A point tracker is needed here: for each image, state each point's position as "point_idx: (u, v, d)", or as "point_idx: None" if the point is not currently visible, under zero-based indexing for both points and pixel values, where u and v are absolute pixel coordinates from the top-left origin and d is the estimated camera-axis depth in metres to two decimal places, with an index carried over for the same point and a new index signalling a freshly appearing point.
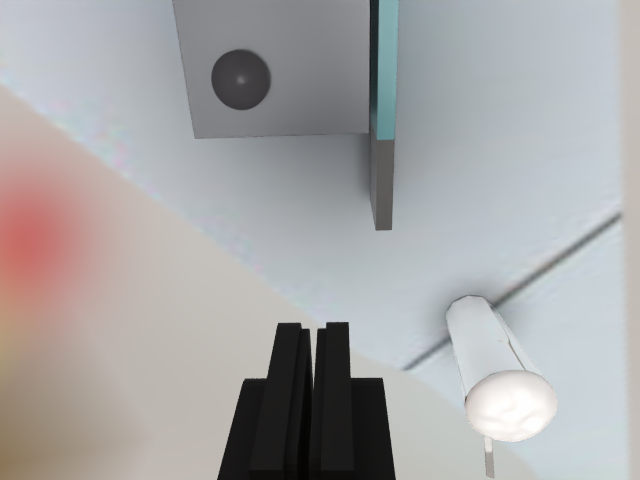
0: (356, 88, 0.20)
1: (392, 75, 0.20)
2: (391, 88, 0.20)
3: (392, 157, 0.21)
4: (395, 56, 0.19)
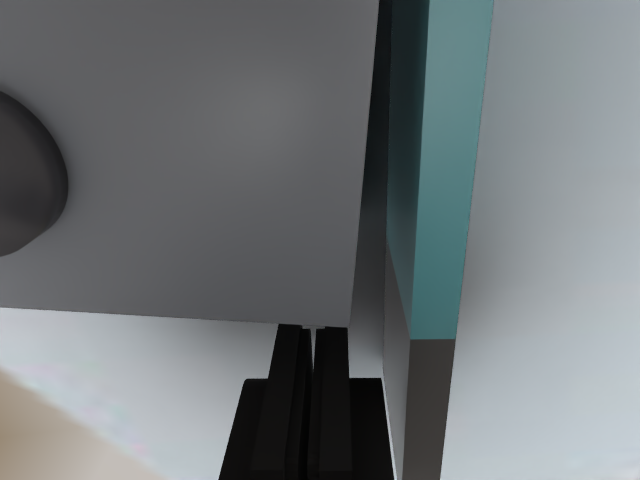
0: (322, 219, 0.07)
1: (460, 190, 0.07)
2: (455, 222, 0.07)
3: (447, 376, 0.08)
4: (473, 139, 0.06)
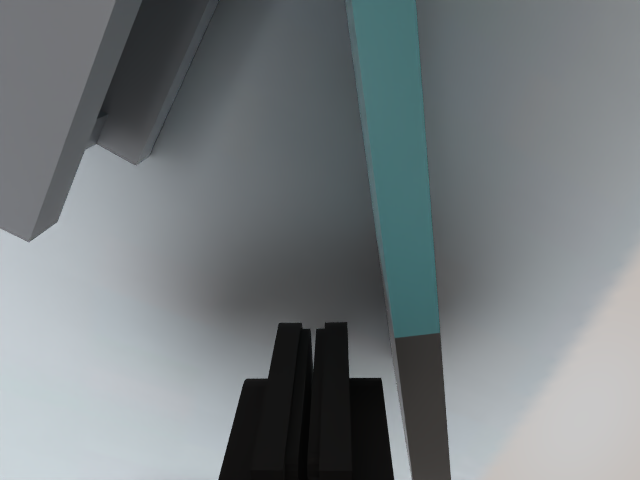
0: (28, 116, 0.06)
1: (417, 185, 0.07)
2: (418, 217, 0.07)
3: (439, 370, 0.08)
4: (420, 133, 0.06)
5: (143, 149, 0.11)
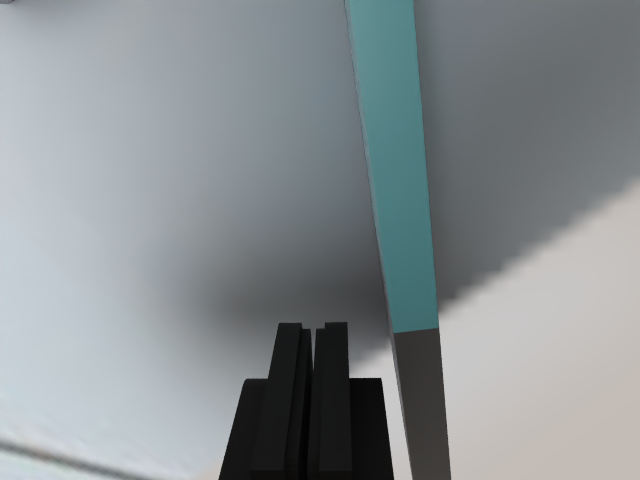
0: None
1: (415, 179, 0.07)
2: (416, 212, 0.07)
3: (438, 365, 0.08)
4: (418, 127, 0.06)
5: None
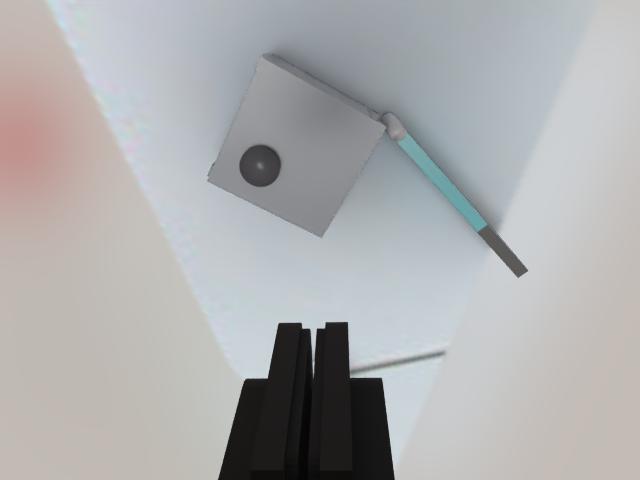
0: (328, 209, 0.28)
1: (458, 196, 0.28)
2: (463, 202, 0.28)
3: (494, 234, 0.29)
4: (452, 186, 0.28)
5: None
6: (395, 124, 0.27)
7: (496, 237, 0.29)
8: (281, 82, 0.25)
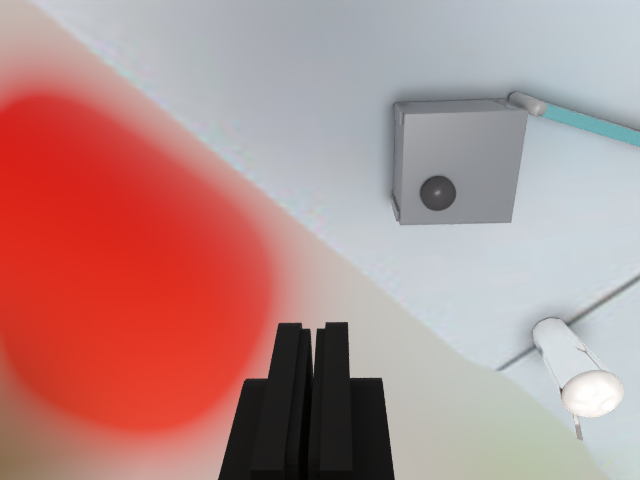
0: (507, 197, 0.32)
1: (618, 129, 0.30)
2: (625, 132, 0.30)
3: None
4: (608, 124, 0.30)
5: None
6: (533, 103, 0.30)
7: None
8: (427, 123, 0.30)
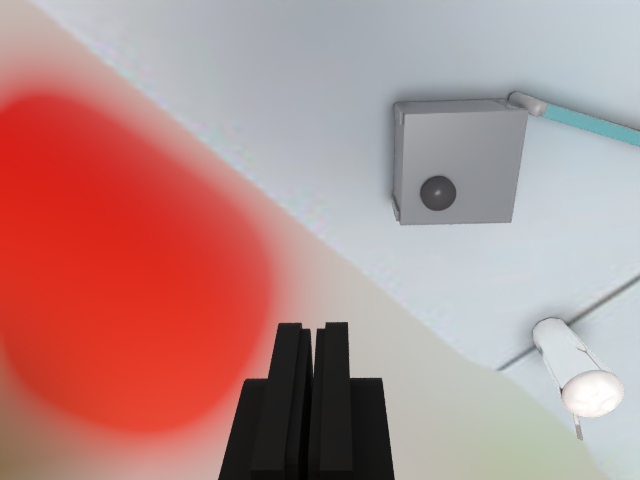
0: (507, 197, 0.32)
1: (618, 129, 0.30)
2: (625, 132, 0.30)
3: None
4: (609, 124, 0.30)
5: None
6: (533, 103, 0.30)
7: None
8: (427, 123, 0.30)
